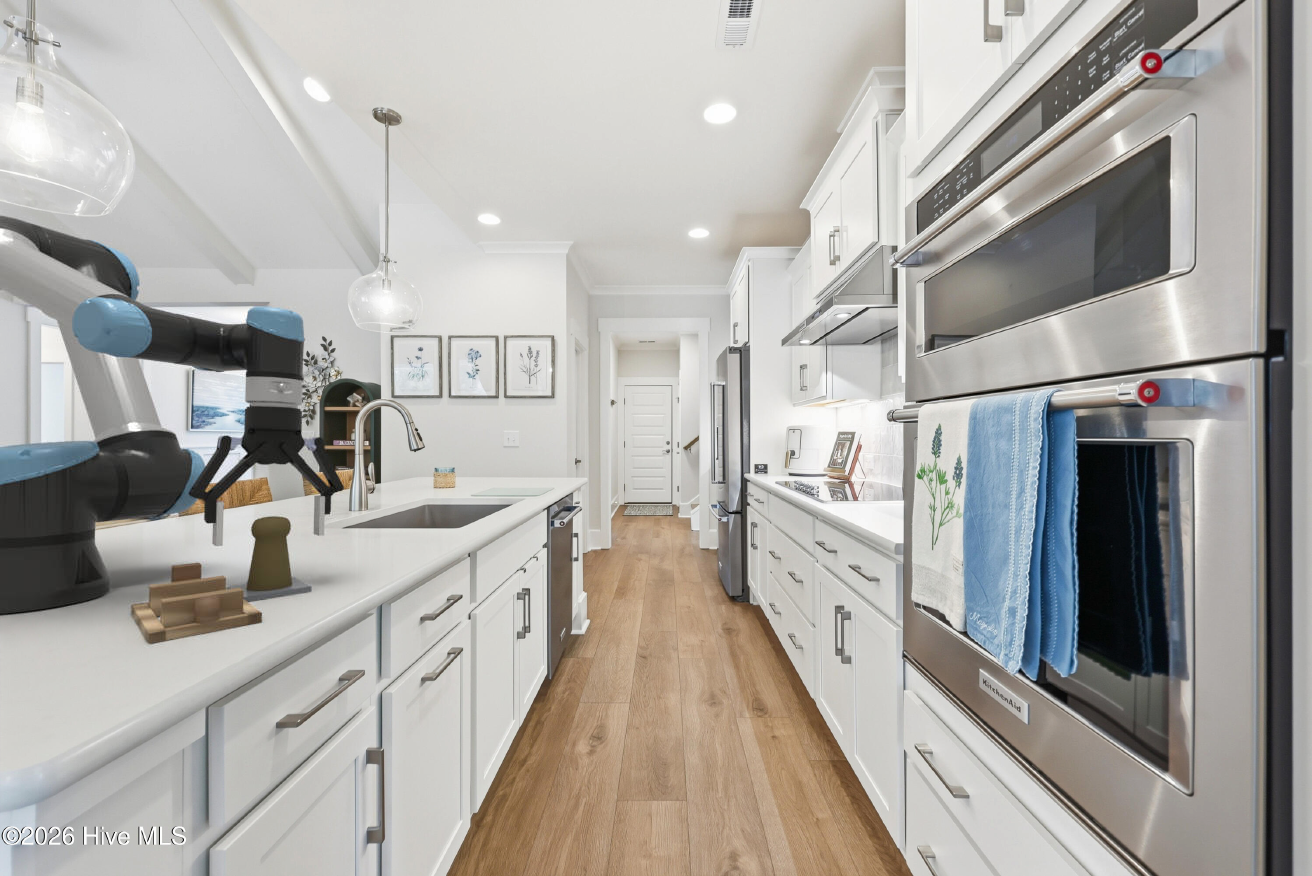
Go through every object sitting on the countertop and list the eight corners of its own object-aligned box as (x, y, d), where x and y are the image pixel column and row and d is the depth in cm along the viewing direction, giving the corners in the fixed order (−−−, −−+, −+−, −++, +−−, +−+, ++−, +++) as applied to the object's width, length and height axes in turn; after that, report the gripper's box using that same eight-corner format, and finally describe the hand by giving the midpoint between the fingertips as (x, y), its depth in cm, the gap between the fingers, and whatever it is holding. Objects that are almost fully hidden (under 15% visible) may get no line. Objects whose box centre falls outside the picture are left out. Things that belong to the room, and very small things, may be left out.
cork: (268, 592, 84) (270, 520, 84) (236, 589, 85) (238, 518, 85) (301, 583, 90) (303, 515, 90) (270, 580, 91) (272, 514, 91)
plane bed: (131, 613, 75) (132, 569, 75) (230, 597, 84) (231, 558, 84) (148, 643, 64) (150, 592, 64) (261, 622, 72) (262, 576, 72)
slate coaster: (227, 591, 87) (228, 586, 87) (293, 581, 94) (293, 576, 94) (242, 602, 81) (242, 597, 81) (311, 591, 88) (311, 586, 88)
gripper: (175, 399, 76) (171, 553, 76) (365, 410, 95) (363, 533, 94) (166, 401, 81) (163, 546, 81) (349, 411, 100) (346, 528, 99)
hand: (271, 539), depth 87 cm, fingers open, 13 cm apart
